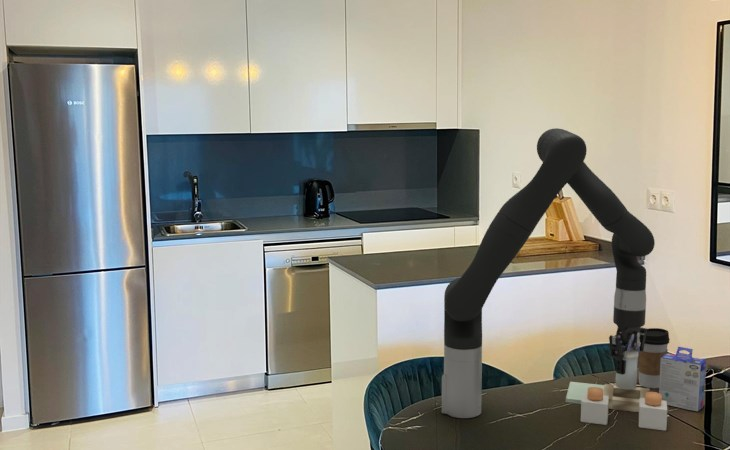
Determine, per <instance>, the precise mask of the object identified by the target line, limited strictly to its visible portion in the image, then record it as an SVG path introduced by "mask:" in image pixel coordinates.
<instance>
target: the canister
mask: <svg viewBox="0 0 730 450" xmlns="http://www.w3.org/2000/svg"><path fill="white" fill-rule="evenodd" d="M622 355H623V350H622ZM637 380H638V351H635V350H633V347H630V351H629V352H627V356H626V369H625V374H623V375H622V374H618V373H616V372H615V384H614V385H616V387H618V388H621V389H627V390H631V389H635V388H636V387H637V382H638V381H637Z"/></svg>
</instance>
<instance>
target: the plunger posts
mask: <svg viewBox="0 0 730 450" xmlns="http://www.w3.org/2000/svg"><path fill="white" fill-rule="evenodd" d="M608 404H609V396H606V395H603V399H602V400H591V399H589V398H588V397H587V393H583V396H582V400H581V404H580V422H581V423H582V422H583V423H589V424H596V425H604V426H607V425H608V420H609V409H608ZM667 423H668V405H667V401H664V400H662V402H661V405H658V406H654V405H649V404H647V403H645V398H640V399H639V412H638V428H642V429H650V430H659V431H667V428H668V427H667V426H668V425H667Z"/></svg>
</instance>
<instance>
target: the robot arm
mask: <svg viewBox="0 0 730 450" xmlns="http://www.w3.org/2000/svg"><path fill="white" fill-rule="evenodd" d="M536 152H537V155H538V157H539V159H540V161H541V162H542V164H541V165H540V167H539V168H538V169H537V172H536V173H535V175H534V176H533V177H532V179H531V180H530V181H529V182H528V183H527V184H526V185H525V186H524V187H523V188H521V189H520V190H519V191H517V192H516V193H515V194H514V195H512V196H511V197H510V198H508V199H507V201H506V202H505V203H504V204H503V205H502V206H501V207H500V209H499V210H498V212H497V213H496V214H495V216H494V218H493V219H492V220H491V222H490V224H489V225H488V228H487V230H486V231H485V233H484V234H483V235H484V236H483V238H482V239H481V242H480V244H479V247H478V249H477V250H476V253H475V255H474V257H473V259H472V261H471V263H470V264H469V266H468V267H467V269H466V270H465V271H464V273H463V274H462V275H461V277H458V278H457V277H456V278H455V279H453V280H452V281H450V282H449V283H448V284H447V286H446V287H445V290H444V301H443V302H444V303H443V304H444V305H443V306H444V310H443V311H444V313H443V314H444V316H443V317H444V318H443V319H444V324H443V339H444V340H443V342H444V343H443V374H442V376H441V414H445V415H448V416H450V417H452V418H459V419H471V418H475V417H478V416H479V415H481V414H482V396H483V395H482V393H483V392H482V391H483V390H482V383H483V382H482V381H483V380H482V378H483V375H482V373H483V364H482V363H483V307H485V303H486V302H487V299H488V297H490V296H489V295H490V294H491V291H493V288H494V286H495V284H496V283H497V282H498V280H499V278H500V277H501V275H502V274H503V273H504V272H505V270H506V269H507V268H508V267H509V265H510V264H511V263H512V262H513V260H514V259H515V258H516V256H517V254H519V252H520V251H521V249H522V248H523V247H524V245H525V244H526V242H527V241H528V239H529V238H530V236H531V235H532V233H533V232H534V230H535V229H536V227H537V225H538V224H539V222H540V221H541V220H542V218H543V217H544V215H545V214H546V212H547V210H548V209H549V208H550V206H551V205H552V203H553V201H554V200H555V198H556V197H557V196H558V195H559V193H560V192H561V191H562V189H563V188H564V187H565V186H566V185H568V186H569V187H570V188H571V189H572V190H573V192H575V194H576V195H577V196H578V197H579V199H580V200H581V201H582V202H583V204H584V205H585V207H586V208H587V209H588V210H589V212H590V213H591V214H592V216H594V217H593V218H595V219H596V220H597V221H598V223H599V224H600V225H601V227H603V228H604V229H605V230H606V231H607V232H610V233H612V236H611V251H612V257H613V262H614V265H615V269H616V275H615V276H616V279H615V291H614V296H613V315H612V316H613V317H612V320H613V324H614V325H616V326H617V327H616V328H617V329H616V333H615V335H612V334H611V335H609V337H608V339H609V351H610V358H613V359H615V360H616V361H615V374H616V373H618V374H622V375H623V374H625V369H626V356H627V352H629V351H630V347H633V350H635V351H638V355H639V354H640V351H643V350H644V345H645V339H646V333H647V329H648V328H646V327H644V326H645V325H646V324H645V323H646V312H647V311H646V310H647V294H646V293H647V291H646V289H647V270H646V267H645V266H643V265H642V264H641V263H639V260H638V258H639V257H641V258H642V257H647V256H648V255H650V254H651V253H652V252H653V251H654V248H655V241H656V240H655V237H654V235H653V233H652V231H651V230H650V228H649V227H648V226H646V224H645V223H643V222H642V221H641V220H640V219H639V218H637V217H636V216H635V215H633V214H632V213H631V211H629V210H628V209H627V207H626V206H625V205H624V203H623V202H622V201H621V200H620V198H619V197H618V196H617V195H616V194H615V192H614V191H613V190H612V189H611V188H610V187H609V186H608V185H607V184H606V183H605V182H604V181H603V180H602V179H601V178H599V177H598V176H597V175H596V174H595V173H594V172H593V171H592V169H591V168H590V167H589V166H588V165H587V164H586V162H585V159H586V156H587V144H586V142H585V140H584V139H583V138H582V137H580V136H579V135H577V134H576V133H573V132H571V131H568V130H566V129H563V128H549V129H547V130H545V131H544V132H543V133H542V134H541V135H540V136H539V138H538V140H537V143H536ZM640 336H641V337H640ZM640 342H641V344H640ZM622 350H623V355H622Z"/></svg>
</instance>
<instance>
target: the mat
mask: <svg viewBox="0 0 730 450" xmlns="http://www.w3.org/2000/svg"><path fill="white" fill-rule="evenodd" d="M604 386H605V384H597V383H596V384H595V383H586V382H577V381H569V385H568V389H567V393H566V395H565V403H571V404H577V405H581V400H582V396H583V393H588V388H589V387H598V388H601V389H603V393H604Z"/></svg>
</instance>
